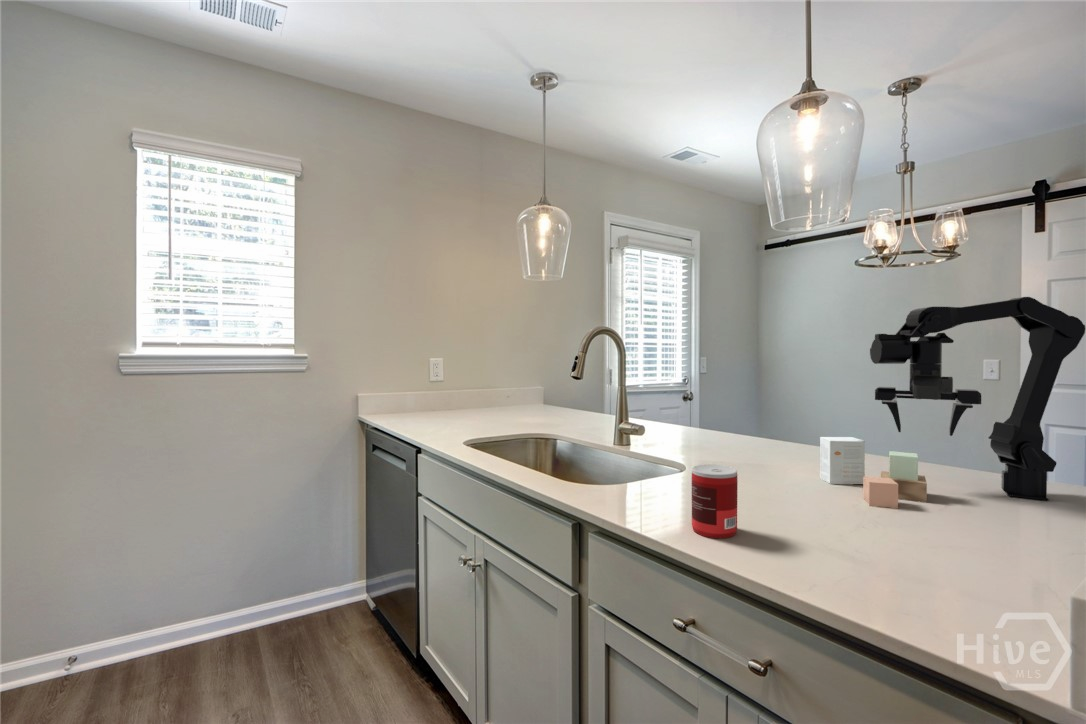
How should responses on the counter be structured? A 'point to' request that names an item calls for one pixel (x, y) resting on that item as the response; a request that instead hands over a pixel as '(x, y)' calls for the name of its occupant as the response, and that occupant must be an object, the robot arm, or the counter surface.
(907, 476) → the sage cube
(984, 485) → the counter surface
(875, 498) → the terracotta cube
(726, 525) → the canned food
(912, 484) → the walnut block
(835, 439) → the small box
